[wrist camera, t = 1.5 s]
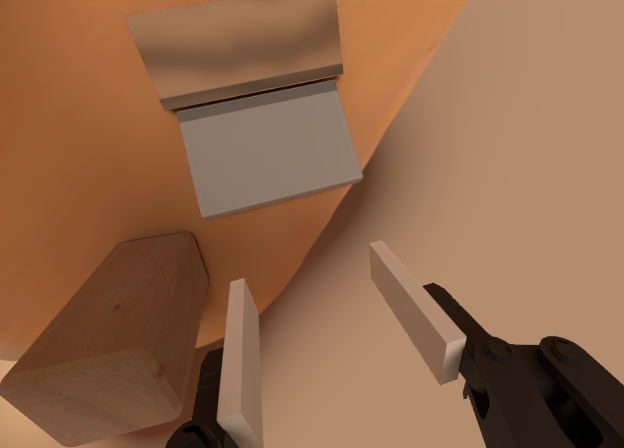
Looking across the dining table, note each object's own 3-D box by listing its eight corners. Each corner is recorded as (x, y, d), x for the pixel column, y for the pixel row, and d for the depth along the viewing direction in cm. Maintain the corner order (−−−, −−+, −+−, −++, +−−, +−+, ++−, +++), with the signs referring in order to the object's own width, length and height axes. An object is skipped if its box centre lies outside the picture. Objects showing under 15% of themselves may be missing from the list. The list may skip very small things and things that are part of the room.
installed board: (133, 21, 25) (123, 15, 23) (328, -11, 27) (334, -19, 25) (170, 109, 29) (164, 110, 27) (337, 75, 31) (343, 74, 29)
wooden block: (193, 228, 36) (141, 357, 19) (211, 281, 41) (183, 422, 23) (116, 240, 34) (-19, 393, 17) (145, 294, 39) (62, 455, 22)
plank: (184, 121, 29) (176, 111, 27) (331, 90, 31) (334, 79, 29) (207, 220, 28) (201, 217, 26) (358, 182, 30) (363, 177, 28)
